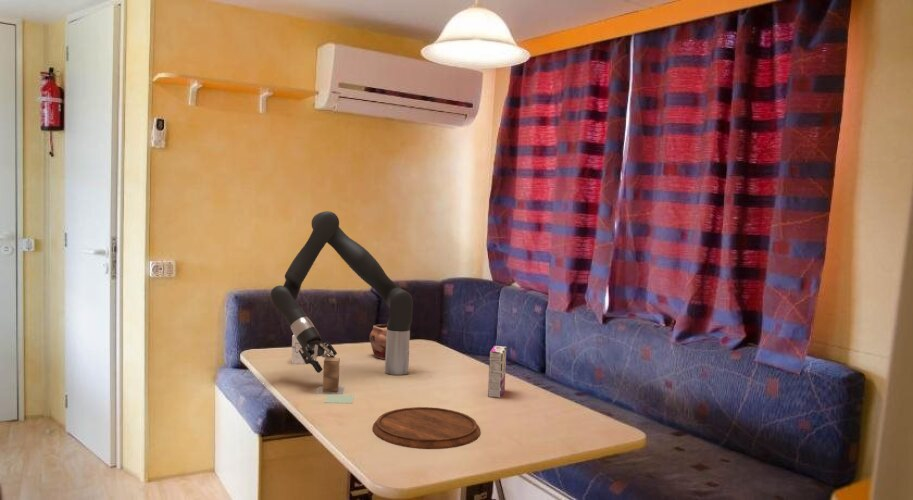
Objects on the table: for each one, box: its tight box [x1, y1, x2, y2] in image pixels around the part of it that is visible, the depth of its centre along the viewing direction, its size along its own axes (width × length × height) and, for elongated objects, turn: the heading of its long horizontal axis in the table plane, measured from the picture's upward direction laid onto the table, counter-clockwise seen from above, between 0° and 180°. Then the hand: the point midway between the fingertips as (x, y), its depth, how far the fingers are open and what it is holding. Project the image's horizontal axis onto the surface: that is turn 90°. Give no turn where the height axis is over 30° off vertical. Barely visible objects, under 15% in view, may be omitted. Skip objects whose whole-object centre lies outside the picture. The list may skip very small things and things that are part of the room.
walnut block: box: [322, 357, 341, 392], centre depth 227 cm, size 5×5×11 cm
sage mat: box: [324, 394, 355, 404], centre depth 218 cm, size 9×9×1 cm
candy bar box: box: [487, 345, 507, 399], centre depth 235 cm, size 11×5×16 cm, turn 168°
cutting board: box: [372, 406, 481, 450], centre depth 193 cm, size 32×32×2 cm
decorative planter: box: [369, 324, 387, 360], centre depth 286 cm, size 20×12×14 cm, turn 36°
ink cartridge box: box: [291, 334, 308, 365], centre depth 269 cm, size 9×5×15 cm, turn 179°
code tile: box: [316, 385, 345, 395], centre depth 228 cm, size 9×9×1 cm
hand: (328, 369), depth 228 cm, fingers open, 8 cm apart
